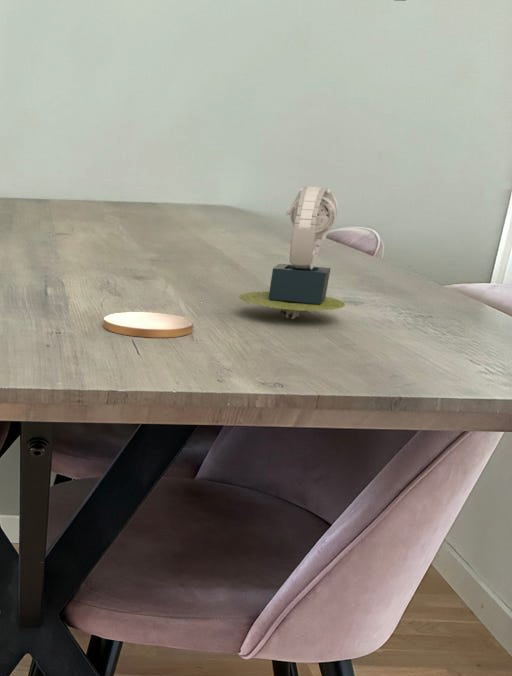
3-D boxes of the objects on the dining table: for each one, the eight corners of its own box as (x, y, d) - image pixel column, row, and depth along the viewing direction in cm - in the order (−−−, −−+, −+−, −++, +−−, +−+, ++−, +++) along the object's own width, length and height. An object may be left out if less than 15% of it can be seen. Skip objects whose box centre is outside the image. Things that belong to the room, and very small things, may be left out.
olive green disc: (348, 331, 98) (351, 311, 97) (238, 324, 100) (240, 304, 99) (335, 312, 108) (338, 294, 107) (235, 305, 109) (237, 288, 108)
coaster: (187, 321, 100) (188, 313, 100) (197, 339, 92) (198, 331, 92) (102, 318, 100) (102, 310, 100) (104, 335, 92) (105, 327, 92)
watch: (327, 295, 106) (346, 186, 101) (318, 306, 99) (338, 190, 94) (276, 290, 108) (292, 183, 102) (264, 301, 101) (281, 187, 96)
